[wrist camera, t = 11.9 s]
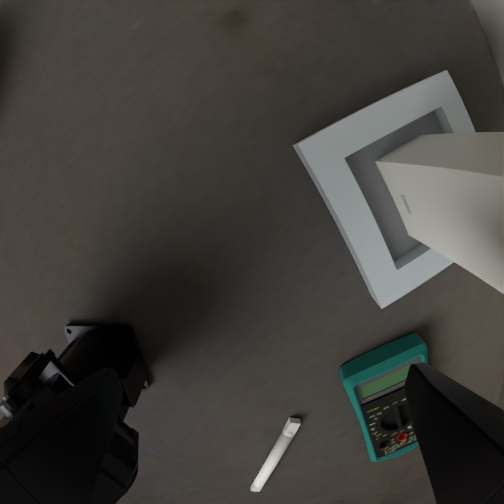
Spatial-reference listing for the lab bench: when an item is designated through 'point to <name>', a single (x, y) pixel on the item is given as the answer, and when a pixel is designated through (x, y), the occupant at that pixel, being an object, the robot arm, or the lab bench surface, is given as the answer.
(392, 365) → the digital multimeter
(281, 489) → the lab bench surface
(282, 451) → the white rod
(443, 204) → the adapter
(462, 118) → the outlet plate
